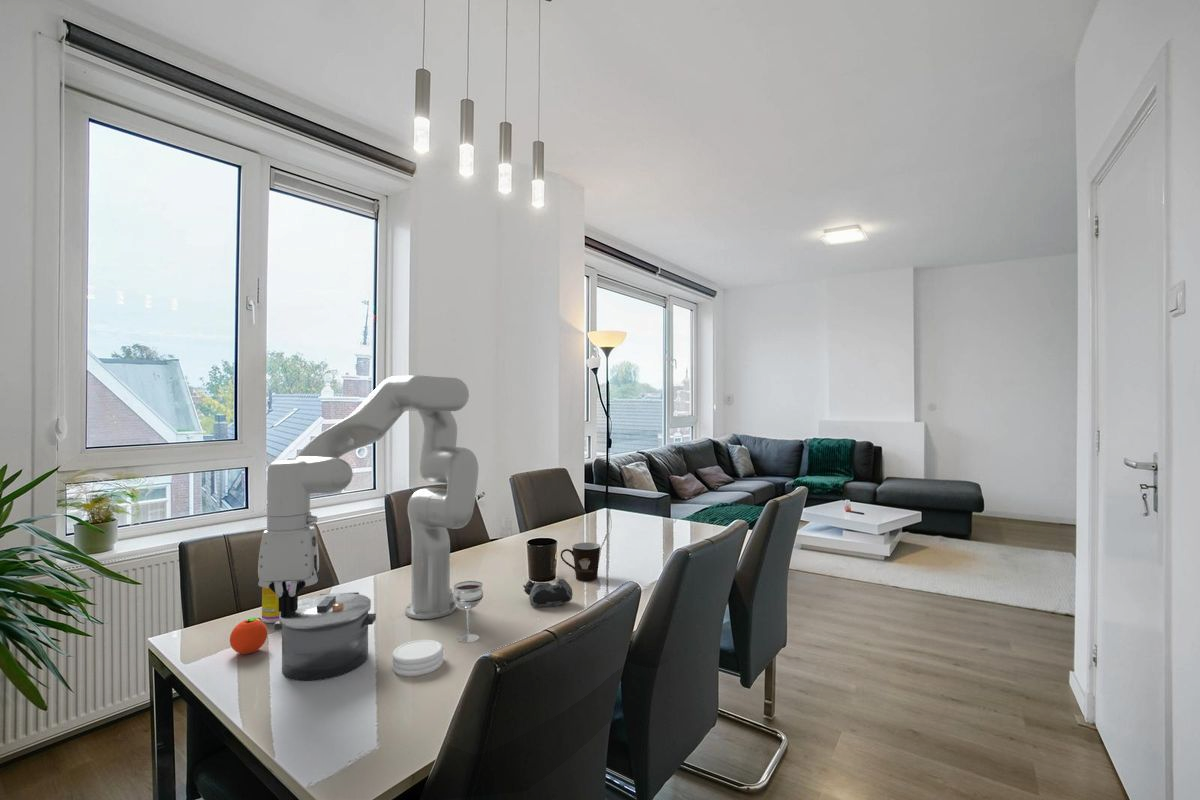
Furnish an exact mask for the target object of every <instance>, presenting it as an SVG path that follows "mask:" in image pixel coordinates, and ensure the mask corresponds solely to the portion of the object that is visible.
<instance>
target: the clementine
mask: <svg viewBox="0 0 1200 800" xmlns="http://www.w3.org/2000/svg"><path fill="white" fill-rule="evenodd" d="M267 638H268V628H267V626H266V623H265V622H263V621H262V617H251V618H248V619H245V620H243V621H241V622H239V623H238V624H236V626H235V627H234V628H233V629H232V631H231V633H230V636H229V644H230V646H231V647H230V648H231V649H232V650H234V651H235V652H236V653H238V654H240V655H241V654H242V655H246V654H251V653H254V652H256V651H258V650H259V649H261V648H262V647H263V645H264V644H265V642H266V640H267Z"/></svg>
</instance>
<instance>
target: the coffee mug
mask: <svg viewBox="0 0 1200 800" xmlns="http://www.w3.org/2000/svg"><path fill="white" fill-rule="evenodd" d="M571 547H572V550H571V549H569V548H564V549H563V550H562V551H561V552H560V558H561V560H562V561H563V563H564V564H565V565H568V566H569V567H570V568H572V570H574V572H575V579H576V580H577V581H578V582H585V583H586V582H587V583H589V582H594V581H596V580H597V579H598V571H599V570H598V569H599V563H600V554H601V544H600V543H597V542H591V541H590V542H584V541H583V542H577V543H574V544H573V545H572V546H571ZM565 552H569V553H570V554H571V556H572V557H573V563H574V565H572V564H571V563H569V562H568V561H566V559H565V558H564V557H563V553H565Z"/></svg>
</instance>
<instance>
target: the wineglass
mask: <svg viewBox="0 0 1200 800" xmlns="http://www.w3.org/2000/svg"><path fill="white" fill-rule="evenodd" d="M483 586H484V584H483V582H481V581H477V580H466V581H465V580H464V581H460V582H457V583H455V584H453V586H452V587H453V590H454V591H452V593H453V600H454V602H455V603H456V606H458V607H459V608H461V609H464V610H465V613H466V634H465V633H464V634H462V635H459V636H458V637H457V638H456V641H457V642H459V643H464V644H466V643H473V642H476V641H478V640H479V638H480V636H479V634H475V633H470V616H471V615H470V614H471V610H473V608H476V607H477V606H478V605H479V604H480V603H481V601H482V600H483V598H484V590H483V588H482V587H483Z"/></svg>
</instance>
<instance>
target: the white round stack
mask: <svg viewBox="0 0 1200 800" xmlns="http://www.w3.org/2000/svg"><path fill="white" fill-rule="evenodd" d="M391 657H392V659H391V662H392V664H391V668H392V670H393V673H395V674H397V675H399V676H403V677H417V676H418V677H419V676H423V675H427V674H429V673H430V674H431V673H433V672H435V671H437V670H438V669H440V667H441V666H442V665H443V663H444V645H443V643H441V642H439V641H437V640H433V639H416V640H413V641H409V642H405V643H403V644H401V645H399V646H398V647H395V649H394V650H393V651H392V654H391Z"/></svg>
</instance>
